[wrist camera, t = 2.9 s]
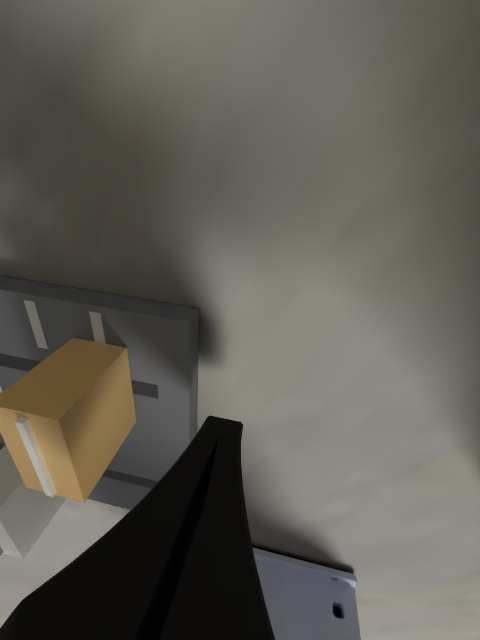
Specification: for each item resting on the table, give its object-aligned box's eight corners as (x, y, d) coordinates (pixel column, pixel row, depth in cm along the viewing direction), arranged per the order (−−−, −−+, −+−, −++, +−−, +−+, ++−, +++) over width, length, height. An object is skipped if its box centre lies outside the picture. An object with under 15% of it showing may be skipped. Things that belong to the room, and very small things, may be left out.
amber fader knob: (126, 347, 12) (53, 425, 9) (136, 421, 14) (81, 507, 11) (73, 337, 13) (-20, 408, 9) (90, 411, 15) (21, 492, 11)
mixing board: (198, 308, 12) (189, 322, 11) (195, 505, 19) (189, 525, 18) (-118, 256, 14) (-152, 264, 13) (-12, 453, 21) (-29, 469, 20)
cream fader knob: (59, 439, 17) (-9, 517, 13) (74, 486, 19) (20, 563, 15) (20, 430, 17) (-57, 504, 13) (40, 477, 19) (-22, 551, 15)
